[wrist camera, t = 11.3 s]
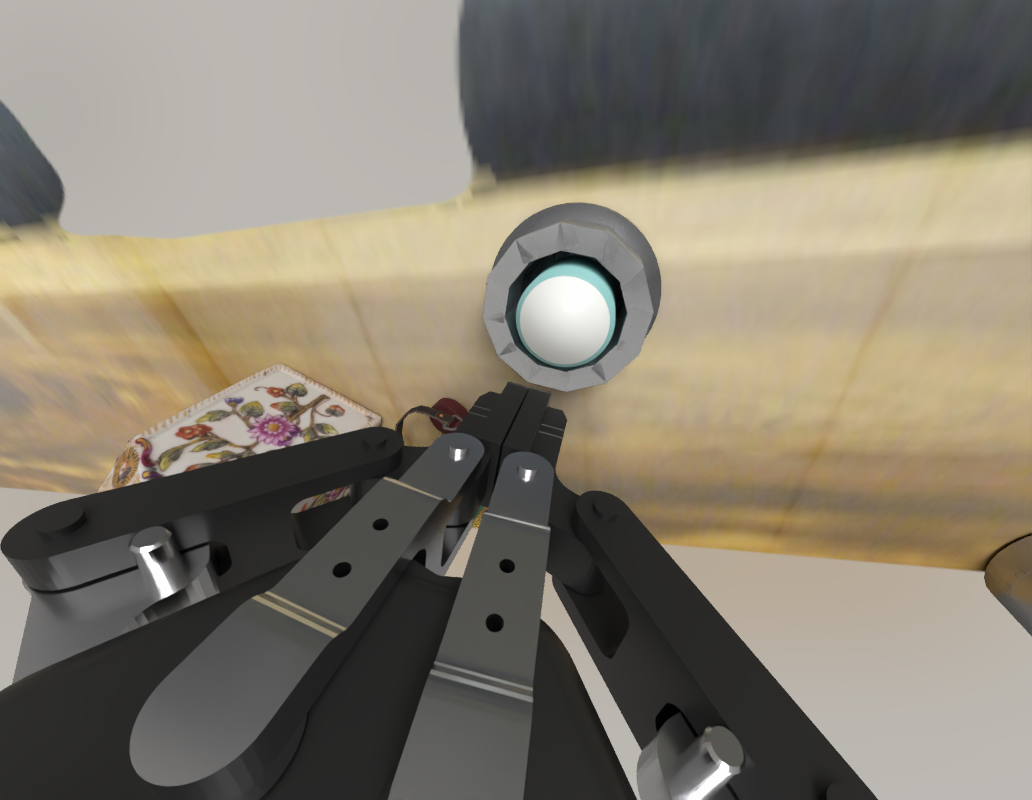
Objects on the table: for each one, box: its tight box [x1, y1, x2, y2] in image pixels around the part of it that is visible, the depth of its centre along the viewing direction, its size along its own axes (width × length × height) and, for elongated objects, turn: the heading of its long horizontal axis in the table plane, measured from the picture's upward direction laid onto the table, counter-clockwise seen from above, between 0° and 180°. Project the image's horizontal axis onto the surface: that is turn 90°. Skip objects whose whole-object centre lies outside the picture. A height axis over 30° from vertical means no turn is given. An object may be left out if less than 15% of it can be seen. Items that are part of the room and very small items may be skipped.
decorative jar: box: [98, 364, 382, 513], centre depth 32 cm, size 12×12×18 cm
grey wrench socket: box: [483, 203, 661, 392], centre depth 26 cm, size 12×12×5 cm
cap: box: [516, 256, 616, 367], centre depth 25 cm, size 6×6×6 cm
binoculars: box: [395, 398, 483, 520], centre depth 32 cm, size 9×11×10 cm
